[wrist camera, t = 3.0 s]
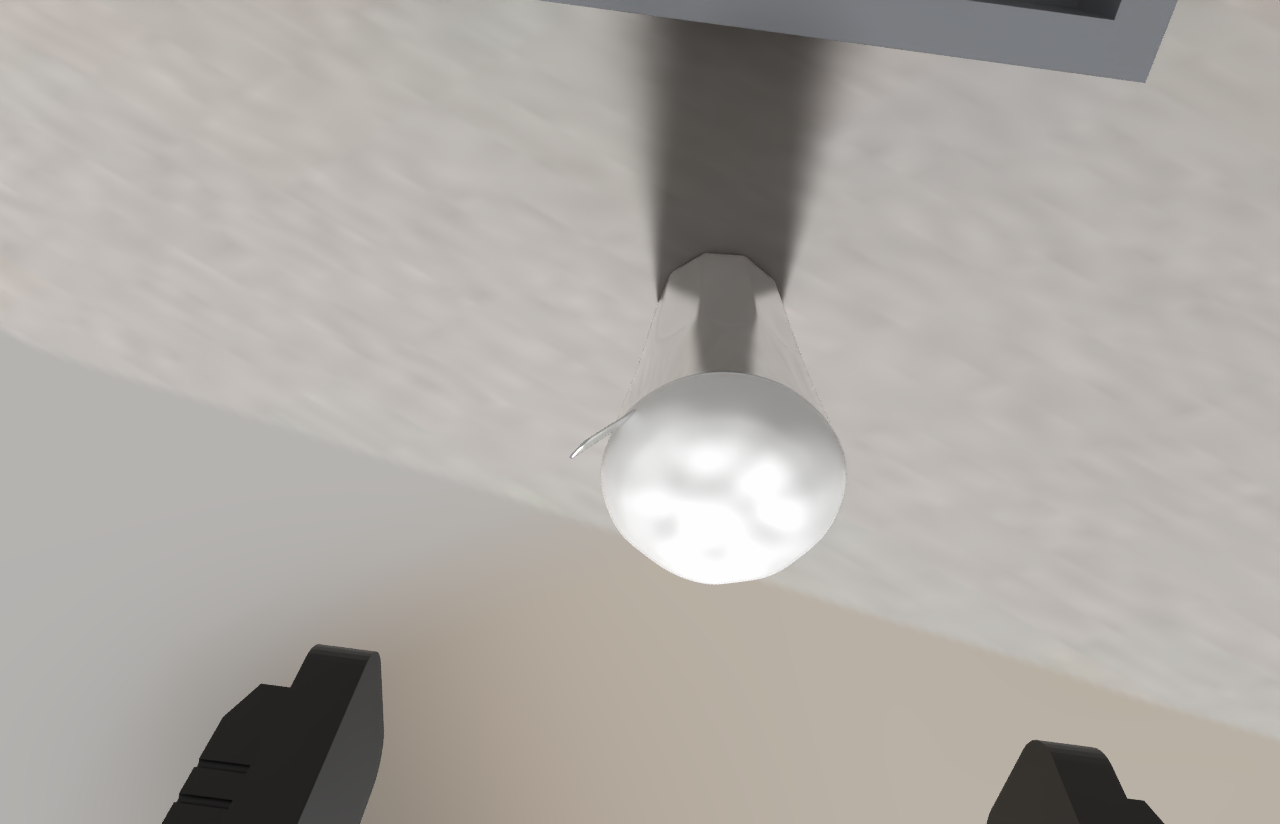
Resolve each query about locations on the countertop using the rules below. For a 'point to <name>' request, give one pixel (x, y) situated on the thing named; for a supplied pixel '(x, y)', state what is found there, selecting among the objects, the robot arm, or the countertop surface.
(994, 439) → the countertop surface
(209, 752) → the robot arm
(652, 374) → the milkshake
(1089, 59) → the dock
